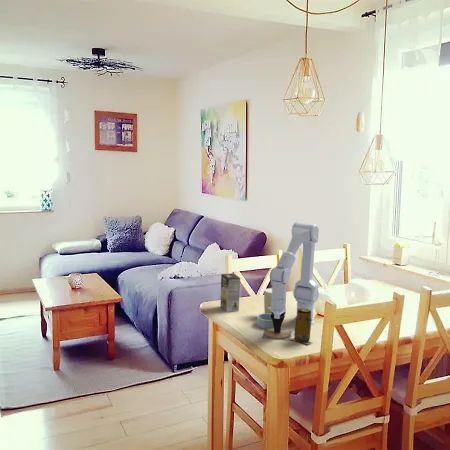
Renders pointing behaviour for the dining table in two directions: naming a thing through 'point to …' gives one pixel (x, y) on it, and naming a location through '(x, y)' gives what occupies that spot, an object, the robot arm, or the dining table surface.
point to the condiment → (303, 326)
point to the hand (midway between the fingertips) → (277, 330)
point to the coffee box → (230, 292)
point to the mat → (277, 339)
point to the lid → (277, 334)
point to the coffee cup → (267, 300)
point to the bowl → (265, 321)
